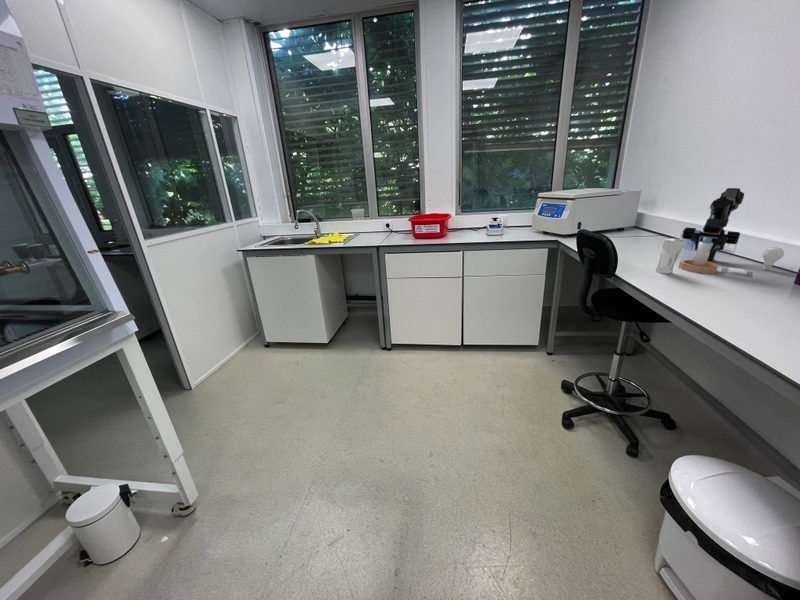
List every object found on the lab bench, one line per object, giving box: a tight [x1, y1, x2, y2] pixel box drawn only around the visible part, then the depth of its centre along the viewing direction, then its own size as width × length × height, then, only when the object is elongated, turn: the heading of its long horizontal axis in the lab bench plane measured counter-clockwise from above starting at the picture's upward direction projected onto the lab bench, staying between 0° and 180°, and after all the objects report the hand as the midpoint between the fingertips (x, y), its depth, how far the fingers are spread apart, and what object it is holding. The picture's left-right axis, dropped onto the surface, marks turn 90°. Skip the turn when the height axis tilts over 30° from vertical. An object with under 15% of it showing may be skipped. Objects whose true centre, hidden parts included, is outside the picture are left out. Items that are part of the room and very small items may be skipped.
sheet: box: [727, 267, 747, 276], centre depth 142 cm, size 7×5×1 cm
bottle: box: [692, 238, 713, 266], centre depth 145 cm, size 5×5×12 cm
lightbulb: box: [761, 246, 785, 272], centre depth 143 cm, size 6×6×11 cm
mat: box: [720, 267, 754, 278], centre depth 142 cm, size 10×10×1 cm
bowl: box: [678, 259, 719, 274], centre depth 148 cm, size 13×13×3 cm
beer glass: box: [655, 237, 685, 275], centre depth 143 cm, size 7×7×15 cm
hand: (703, 250), depth 144 cm, fingers closed on bottle, 5 cm apart
